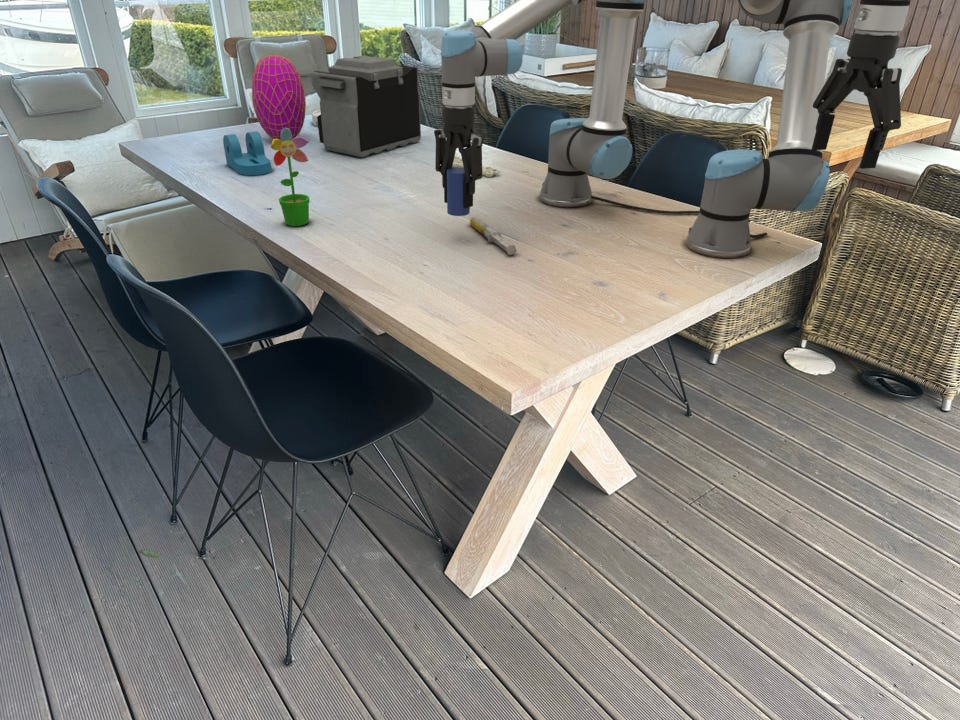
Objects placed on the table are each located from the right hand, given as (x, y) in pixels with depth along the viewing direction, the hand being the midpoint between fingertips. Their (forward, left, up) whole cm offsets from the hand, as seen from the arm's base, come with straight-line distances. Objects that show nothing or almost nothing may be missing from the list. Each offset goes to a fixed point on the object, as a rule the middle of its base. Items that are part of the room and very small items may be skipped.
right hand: (841, 158), depth 128 cm
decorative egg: (+108, -170, -30) cm, 203 cm away
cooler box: (+76, -154, -30) cm, 175 cm away
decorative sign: (+47, -117, -30) cm, 129 cm away
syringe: (+55, -50, -30) cm, 80 cm away
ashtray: (+85, -198, -30) cm, 217 cm away
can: (+63, -51, -23) cm, 84 cm away
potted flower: (+103, -72, -30) cm, 129 cm away
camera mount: (+118, -130, -30) cm, 178 cm away
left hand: (+63, -51, -21) cm, 84 cm away
